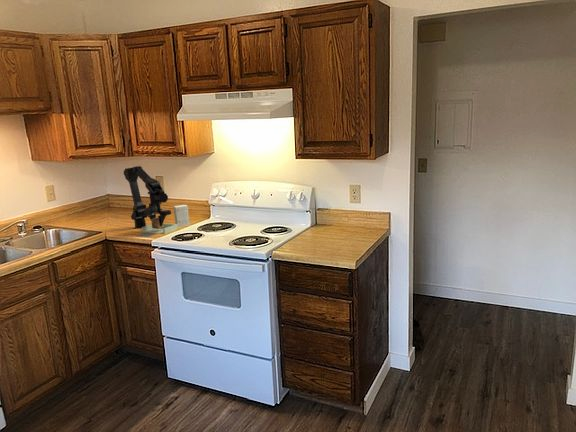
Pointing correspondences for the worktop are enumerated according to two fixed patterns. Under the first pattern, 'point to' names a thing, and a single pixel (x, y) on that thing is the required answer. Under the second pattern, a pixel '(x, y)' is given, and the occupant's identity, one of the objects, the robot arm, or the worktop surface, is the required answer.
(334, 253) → the worktop surface
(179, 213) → the small box
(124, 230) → the worktop surface
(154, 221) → the walnut block
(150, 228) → the crate
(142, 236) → the mat
